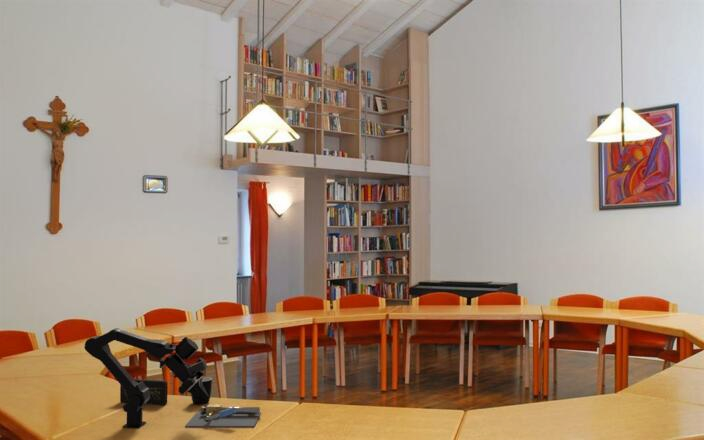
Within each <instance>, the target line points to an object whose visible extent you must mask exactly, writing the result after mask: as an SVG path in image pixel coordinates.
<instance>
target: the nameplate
mask: <svg viewBox="0 0 704 440" xmlns="http://www.w3.org/2000/svg"><path fill="white" fill-rule="evenodd" d="M133 379H134V381H136V382H138V383H140V382H142V381H143V382H144V384H145V385H146V387H148V388H149V392H150V398H149V400H148V401H147V402H146V403H145V405H152V406H153V405H154V406H165V405H167V404H168V381H167V380H162V379H161V380H160V379H159V380H158V379H156V380H155V379H140V378H139V379H137V378H133ZM119 388H120V390H119V391H120V394H119V400H120V403H121V404H126V403H127V402H128V401H129V400H128V399H127V396H126V393H125V390H124V388H123V387H122V386H121V385H120V387H119Z"/></svg>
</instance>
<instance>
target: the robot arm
mask: <svg viewBox="0 0 704 440" xmlns="http://www.w3.org/2000/svg"><path fill="white" fill-rule="evenodd" d="M113 341H115V342H119V343H122V344H125V345H128V346H131V347H133V348H134V347H135V348H137V349H141V350H143V351H145V352H146V354H148V355H150V356H152V357H153V358H155V359H160V360H159V369H162V368H163V367H166V368H167V369H168V370H169V371H170V372H171V373H172V374H173V378H174V379H178V380H179V381H180V382H181V385H180V386H179V387H178V393H179V394H180V395H181V396H183V395H184V394H185V393H186V392H187V393H189V394H191V393H192V394H195V395H198V396H201V397H203V398H206V399H207V398H208V394H207V392H206V390H205V388H204V386H203V384H202V379H203V377H204V375H205V373H206V372H205V371H204V370H206V369H207V368H208V365H207V361H206V359H203V358H202V357H200V358H197V359H196V361H195V363H193V364H191V363H186V362H185V361H184V360H189V359H190V357H192V356H193V355H194V354H195V353H196V352H197V351H198V350H199V346H198V344H197V343H196V341H194V340H192V339H190V338H189V337H187V336H185V337H183V338H182V339H181V341H179V343H178V344H172V343H170V342H169V341H167V340H162V339H153V338H146V337H144V336H140V335H138V334H135V333H132V332H128V331H126V330H122V329H120V328H119V327H117V328H113V329H110V330H109V331H108V332H106V333H103V334H102V335H94V336H93V337H90V338H87V340H86V341H85V342H84V350H85V351H86V353H88V354H89V355H90V356H91V357H92V358H95V359H97V360H98V361H99V362H101V363H102V364H103V365H104V367H105V368H106V369H107V370H108V372H109V373H110V374H111V375H112V376H113V377H114V379H115V380H116V381H117V382H118V383H119V384H120V385H121V386H122V387H123V388H124V390H125V393H126V396H127V399H128V400H129V401H128V402H127V403H124V405H123V406H122V408H123V411H124V413H126V423H125V424H124V425H122V428H130V429H131V428H133V429H134V428H135V429H139V428H141V427H142V426H144V425H146V424H147V421H143V416H144V415H143V409H144V408H143V407H145V405H146V404H145V403H146V402H147V401H148V400H149V398H150V392H149V388H148V387H146V385H145V384H144V382H143V381H142V382H140V383H138V382H136V381H134V379H135V378H133V377H132V376H131V375H130V373H129V372H128V371H127V370H126V369H125V367H124V366H123V365H122V364H121V363H120V362H119V360H118V359H117V358H116V357H115V356H114V354H113V352H112V350H111V348H110V345H109V344H110V343H111V342H113ZM162 358H164V359H162ZM200 377H202V378H201V379H199V378H200Z"/></svg>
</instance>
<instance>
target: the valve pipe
mask: <svg viewBox="0 0 704 440" xmlns="http://www.w3.org/2000/svg"><path fill="white" fill-rule="evenodd" d="M232 407H233V406H222V403H220V404H219V403H218V404H217V403H216V404H215V403H214V404H213V403H211V404H208V403H207V406H203V405H202V406H201V405H200V410H199V412H200V414H201V415H204V414H206V416H213V415H216V414H219V412H220V411H223V410H226V409H229V408H232ZM234 407H235V409H236V413H234V414H248V417H254V416H255V414H260V412H261V408H260V406H234ZM232 415H233V414H231V415H228V416H225V417H232Z"/></svg>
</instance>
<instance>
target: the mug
mask: <svg viewBox="0 0 704 440" xmlns="http://www.w3.org/2000/svg"><path fill="white" fill-rule="evenodd" d="M202 377H203V379H202V384H203V386H204V388H205V390H206V392H207V394H208V398H207V399H206V398H203V397H201V396H198V395H195V394H192V393H190V397H191V401H192V403H193V404H194V405H199V406H201V405H202V406H203V405H206V404H207V405H208V403H209V402H210V399H211V394H212V388H213V387H212V384H213V381H212V380H213V379H212V377H209V376H201V377H200V378H199V379H201V378H202Z"/></svg>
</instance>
